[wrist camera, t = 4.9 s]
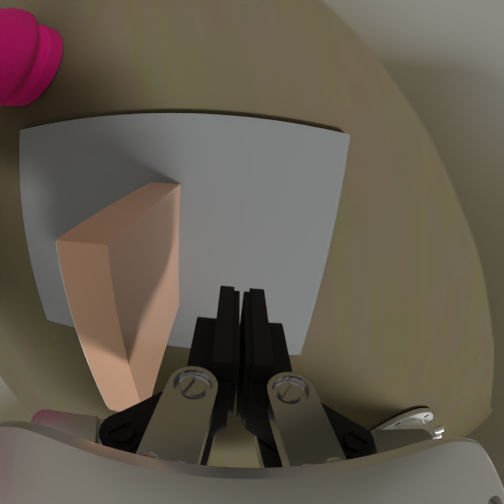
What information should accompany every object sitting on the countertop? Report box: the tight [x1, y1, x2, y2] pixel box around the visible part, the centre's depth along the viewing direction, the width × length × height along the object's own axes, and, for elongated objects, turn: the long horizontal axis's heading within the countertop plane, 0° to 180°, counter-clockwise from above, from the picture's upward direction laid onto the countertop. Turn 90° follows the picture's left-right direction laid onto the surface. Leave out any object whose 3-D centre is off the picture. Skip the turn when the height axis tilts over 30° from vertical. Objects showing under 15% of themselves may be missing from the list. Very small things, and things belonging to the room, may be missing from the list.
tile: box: [55, 183, 181, 412], centre depth 12 cm, size 2×8×9 cm, turn 174°
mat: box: [19, 113, 350, 355], centre depth 16 cm, size 22×16×1 cm
